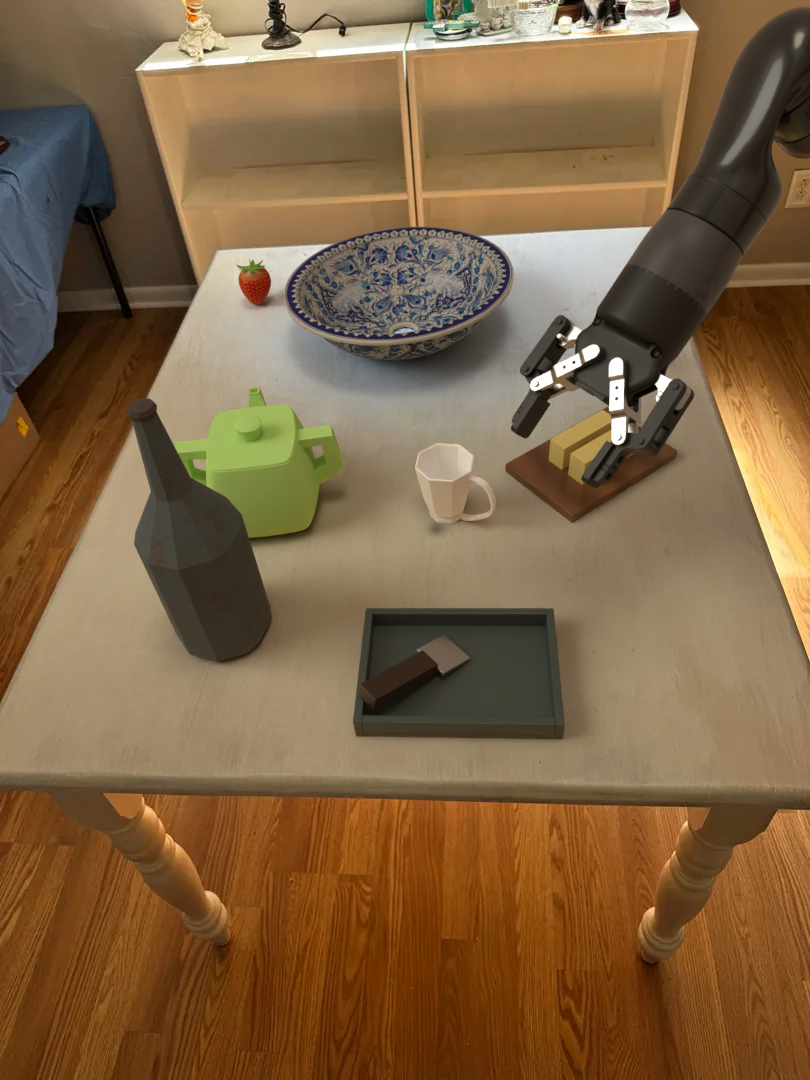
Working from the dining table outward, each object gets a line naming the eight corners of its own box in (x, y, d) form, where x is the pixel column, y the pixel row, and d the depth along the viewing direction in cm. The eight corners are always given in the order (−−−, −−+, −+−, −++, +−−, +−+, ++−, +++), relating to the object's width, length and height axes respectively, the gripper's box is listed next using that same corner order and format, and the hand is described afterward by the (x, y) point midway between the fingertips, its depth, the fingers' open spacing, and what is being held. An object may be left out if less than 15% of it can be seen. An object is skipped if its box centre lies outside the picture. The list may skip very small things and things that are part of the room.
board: (606, 413, 106) (607, 406, 105) (676, 457, 99) (677, 450, 98) (505, 471, 100) (505, 463, 99) (572, 522, 93) (572, 515, 92)
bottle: (263, 580, 90) (194, 357, 68) (281, 646, 83) (211, 423, 61) (173, 607, 88) (73, 386, 66) (185, 676, 82) (78, 457, 60)
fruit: (253, 294, 135) (243, 250, 129) (280, 297, 134) (271, 253, 128) (238, 310, 132) (227, 265, 126) (266, 314, 130) (256, 269, 124)
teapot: (199, 455, 106) (171, 374, 97) (345, 439, 106) (332, 357, 97) (185, 555, 93) (151, 473, 84) (351, 536, 94) (337, 452, 84)
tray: (551, 623, 83) (553, 607, 81) (562, 739, 74) (564, 725, 72) (368, 622, 85) (365, 607, 83) (356, 736, 75) (352, 722, 73)
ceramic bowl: (347, 268, 139) (340, 212, 132) (536, 293, 129) (540, 234, 121) (254, 378, 118) (239, 319, 110) (472, 418, 108) (471, 356, 100)
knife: (442, 640, 82) (353, 689, 76) (445, 630, 81) (354, 678, 75) (468, 664, 80) (378, 717, 73) (471, 653, 79) (380, 705, 72)
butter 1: (599, 430, 102) (602, 409, 99) (613, 440, 100) (617, 418, 98) (548, 460, 99) (550, 439, 96) (562, 470, 97) (564, 449, 95)
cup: (436, 484, 99) (433, 434, 93) (507, 511, 95) (509, 460, 89) (407, 519, 95) (402, 469, 89) (480, 548, 91) (480, 498, 85)
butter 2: (619, 444, 100) (623, 422, 97) (634, 453, 98) (638, 432, 96) (567, 474, 97) (570, 453, 94) (582, 485, 95) (585, 463, 93)
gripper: (757, 340, 61) (633, 512, 65) (620, 274, 69) (517, 430, 73) (728, 301, 55) (593, 493, 59) (582, 235, 63) (473, 407, 67)
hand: (551, 458), depth 66 cm, fingers open, 8 cm apart
